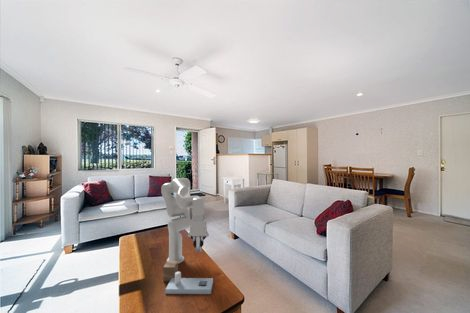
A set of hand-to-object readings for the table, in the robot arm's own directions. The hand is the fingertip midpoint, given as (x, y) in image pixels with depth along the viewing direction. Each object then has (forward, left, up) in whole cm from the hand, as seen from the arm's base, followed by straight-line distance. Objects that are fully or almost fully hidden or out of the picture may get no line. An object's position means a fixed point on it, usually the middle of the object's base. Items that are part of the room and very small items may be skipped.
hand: (198, 246), depth 115 cm
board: (+6, -4, -22) cm, 23 cm away
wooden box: (-3, -19, -22) cm, 29 cm away
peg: (0, 0, -3) cm, 3 cm away
